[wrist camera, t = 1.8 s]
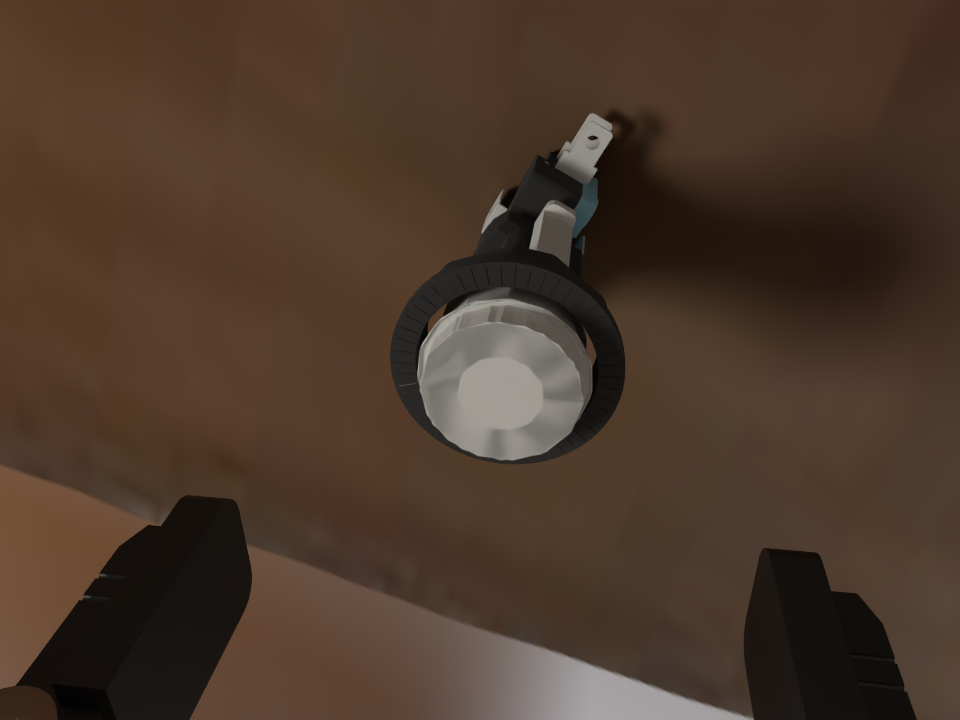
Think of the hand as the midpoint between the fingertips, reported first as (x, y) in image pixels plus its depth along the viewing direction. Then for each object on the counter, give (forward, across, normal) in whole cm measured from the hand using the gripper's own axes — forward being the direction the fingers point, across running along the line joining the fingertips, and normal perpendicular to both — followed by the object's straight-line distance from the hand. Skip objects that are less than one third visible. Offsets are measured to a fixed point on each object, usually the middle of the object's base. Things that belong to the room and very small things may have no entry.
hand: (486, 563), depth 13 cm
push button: (+16, 0, 0) cm, 16 cm away
